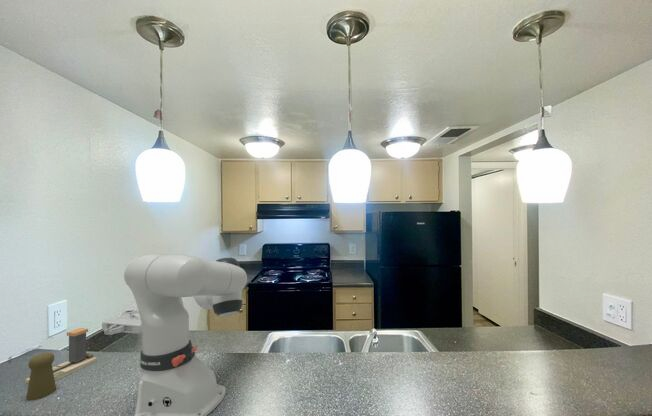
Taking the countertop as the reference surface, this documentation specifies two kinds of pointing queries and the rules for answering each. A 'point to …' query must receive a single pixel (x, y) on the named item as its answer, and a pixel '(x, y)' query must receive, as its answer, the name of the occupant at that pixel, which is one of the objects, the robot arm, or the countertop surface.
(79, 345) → the fader knob
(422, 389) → the countertop surface
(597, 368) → the countertop surface
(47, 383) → the cork
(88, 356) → the fader board
